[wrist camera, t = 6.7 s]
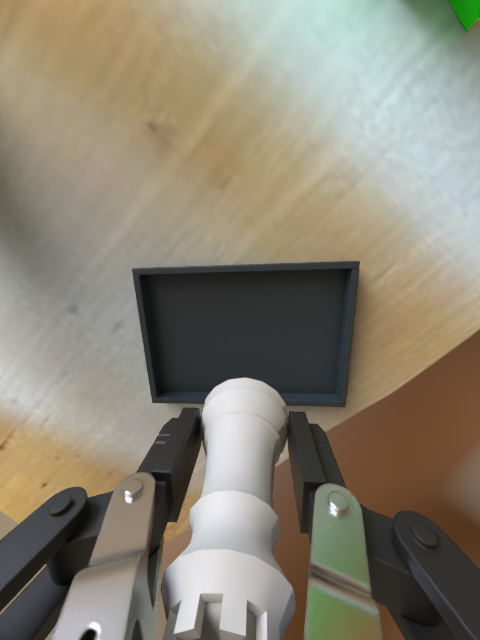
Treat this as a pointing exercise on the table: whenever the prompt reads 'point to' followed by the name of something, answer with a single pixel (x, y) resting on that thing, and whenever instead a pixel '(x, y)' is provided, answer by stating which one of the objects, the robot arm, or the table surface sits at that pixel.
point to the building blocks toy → (467, 11)
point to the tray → (248, 329)
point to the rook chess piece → (233, 525)
